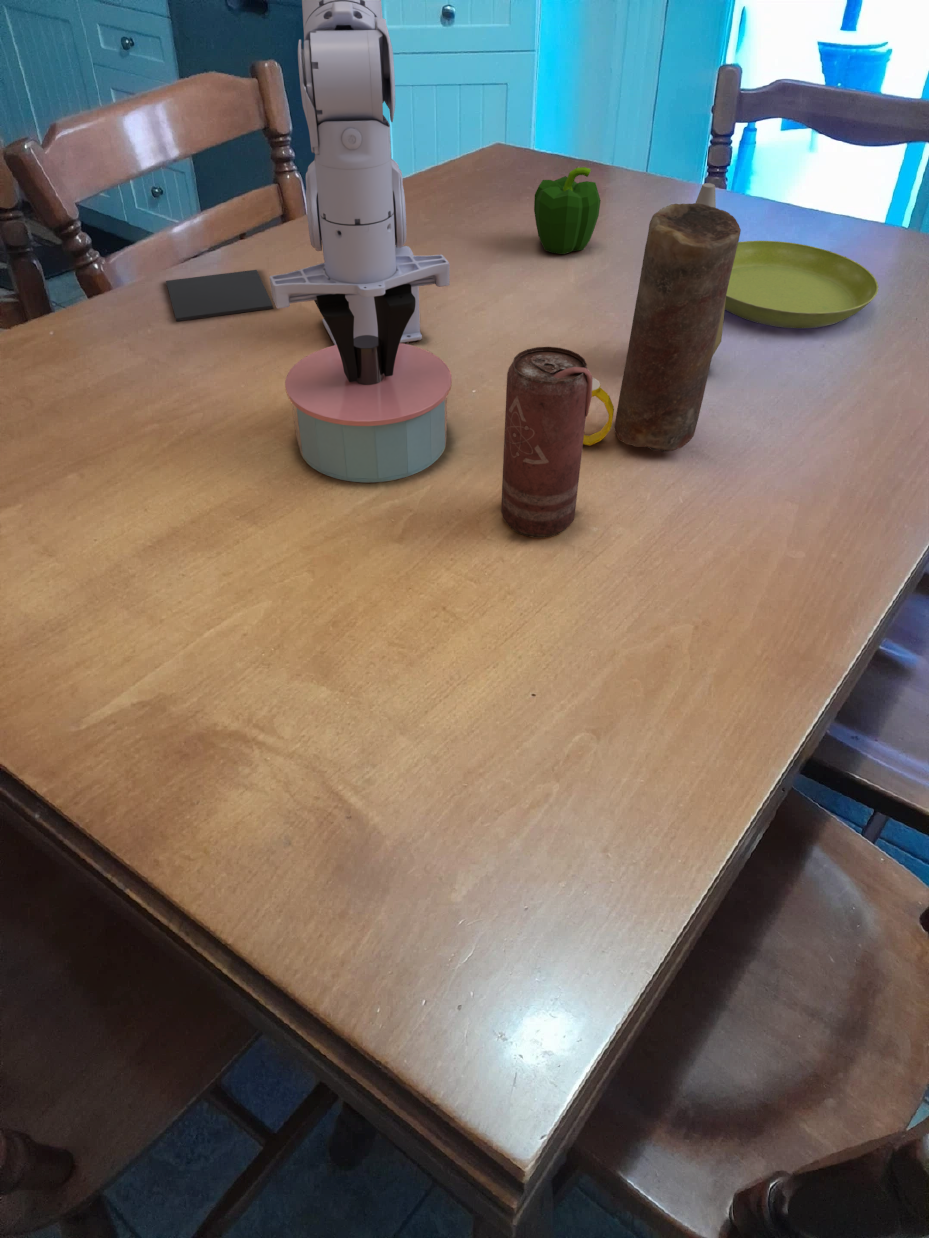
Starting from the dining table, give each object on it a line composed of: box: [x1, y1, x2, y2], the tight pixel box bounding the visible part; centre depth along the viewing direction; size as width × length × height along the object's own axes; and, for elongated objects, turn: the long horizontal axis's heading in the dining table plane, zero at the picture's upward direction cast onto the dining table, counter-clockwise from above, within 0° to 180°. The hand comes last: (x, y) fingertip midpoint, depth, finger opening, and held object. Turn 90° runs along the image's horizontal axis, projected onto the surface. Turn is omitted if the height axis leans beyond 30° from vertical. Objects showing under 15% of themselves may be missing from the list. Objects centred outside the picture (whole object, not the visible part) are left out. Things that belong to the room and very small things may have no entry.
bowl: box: [291, 396, 448, 483], centre depth 82 cm, size 14×14×6 cm
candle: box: [613, 202, 742, 452], centre depth 77 cm, size 8×7×20 cm
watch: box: [583, 377, 615, 447], centre depth 82 cm, size 6×3×6 cm, turn 79°
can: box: [500, 346, 593, 539], centre depth 70 cm, size 6×6×14 cm
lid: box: [284, 335, 453, 426], centre depth 78 cm, size 15×15×4 cm
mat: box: [165, 269, 274, 322], centre depth 107 cm, size 11×11×1 cm
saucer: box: [725, 240, 879, 329], centre depth 106 cm, size 21×21×3 cm
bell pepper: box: [533, 166, 602, 255], centre depth 115 cm, size 8×8×10 cm
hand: (368, 374), depth 79 cm, fingers closed on lid, 2 cm apart
